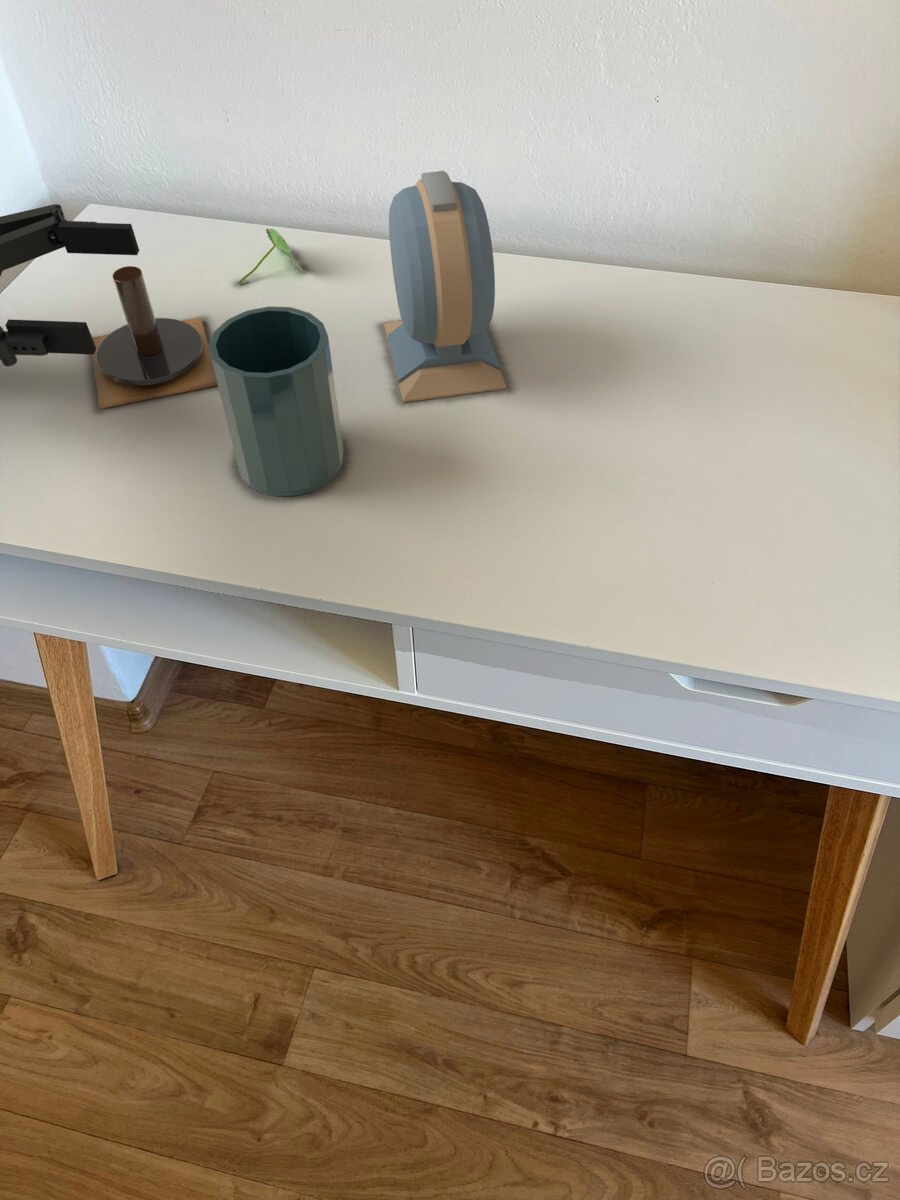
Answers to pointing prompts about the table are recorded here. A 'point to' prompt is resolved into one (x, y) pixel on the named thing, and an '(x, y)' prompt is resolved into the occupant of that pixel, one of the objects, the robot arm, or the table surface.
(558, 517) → the table surface
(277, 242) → the seedling
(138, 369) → the lid
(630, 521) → the table surface
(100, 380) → the mat
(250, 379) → the jar
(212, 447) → the table surface
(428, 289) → the alarm clock
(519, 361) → the table surface
